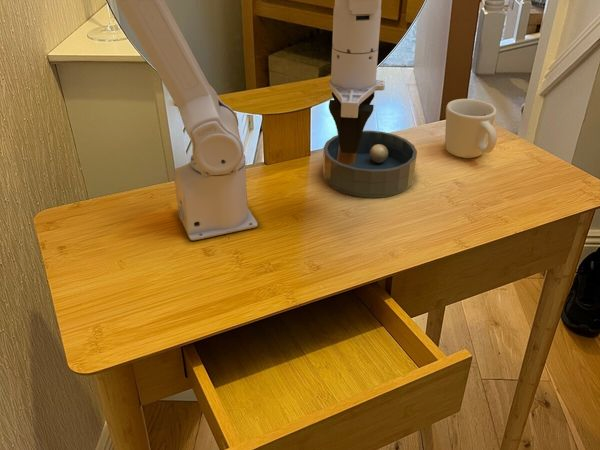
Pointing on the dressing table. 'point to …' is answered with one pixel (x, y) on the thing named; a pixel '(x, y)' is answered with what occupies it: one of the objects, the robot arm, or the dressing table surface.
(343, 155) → the stick
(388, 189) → the bowl
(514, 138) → the dressing table surface
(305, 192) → the dressing table surface
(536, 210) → the dressing table surface
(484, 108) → the cup
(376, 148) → the bead
